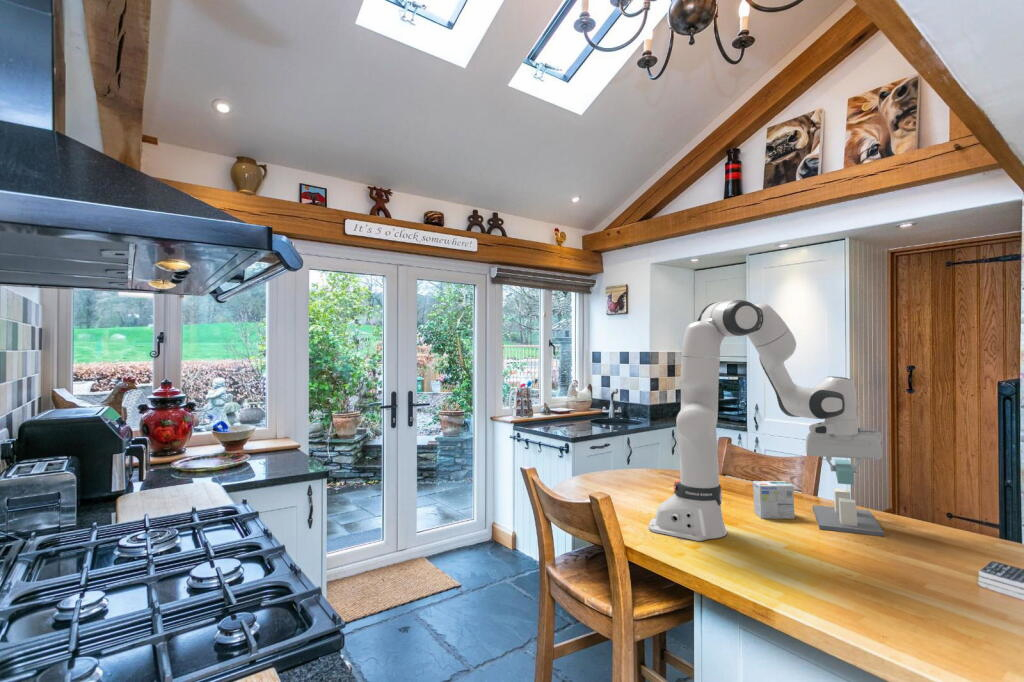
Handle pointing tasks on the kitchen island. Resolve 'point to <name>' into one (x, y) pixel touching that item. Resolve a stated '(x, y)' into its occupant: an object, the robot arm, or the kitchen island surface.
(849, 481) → the beam
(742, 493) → the kitchen island surface
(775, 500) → the light bulb box
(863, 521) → the board
